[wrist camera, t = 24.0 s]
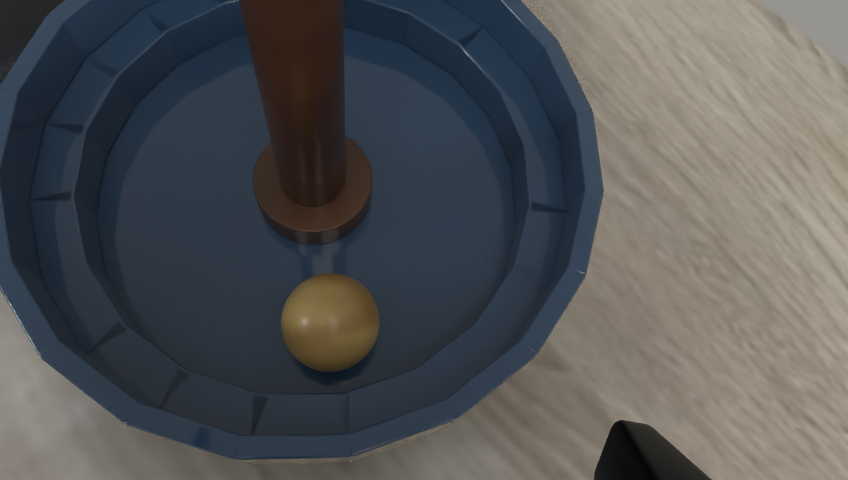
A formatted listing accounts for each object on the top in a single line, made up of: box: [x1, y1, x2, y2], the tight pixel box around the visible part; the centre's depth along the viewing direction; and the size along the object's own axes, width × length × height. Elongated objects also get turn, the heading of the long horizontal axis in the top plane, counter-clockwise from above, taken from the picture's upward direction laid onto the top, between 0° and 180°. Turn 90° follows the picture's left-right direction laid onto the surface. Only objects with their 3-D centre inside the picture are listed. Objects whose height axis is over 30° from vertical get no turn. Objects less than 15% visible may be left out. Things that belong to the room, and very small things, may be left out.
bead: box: [281, 273, 380, 372], centre depth 20 cm, size 3×3×3 cm
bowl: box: [0, 0, 604, 464], centre depth 21 cm, size 18×18×4 cm
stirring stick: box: [238, 0, 372, 244], centre depth 16 cm, size 4×4×14 cm
